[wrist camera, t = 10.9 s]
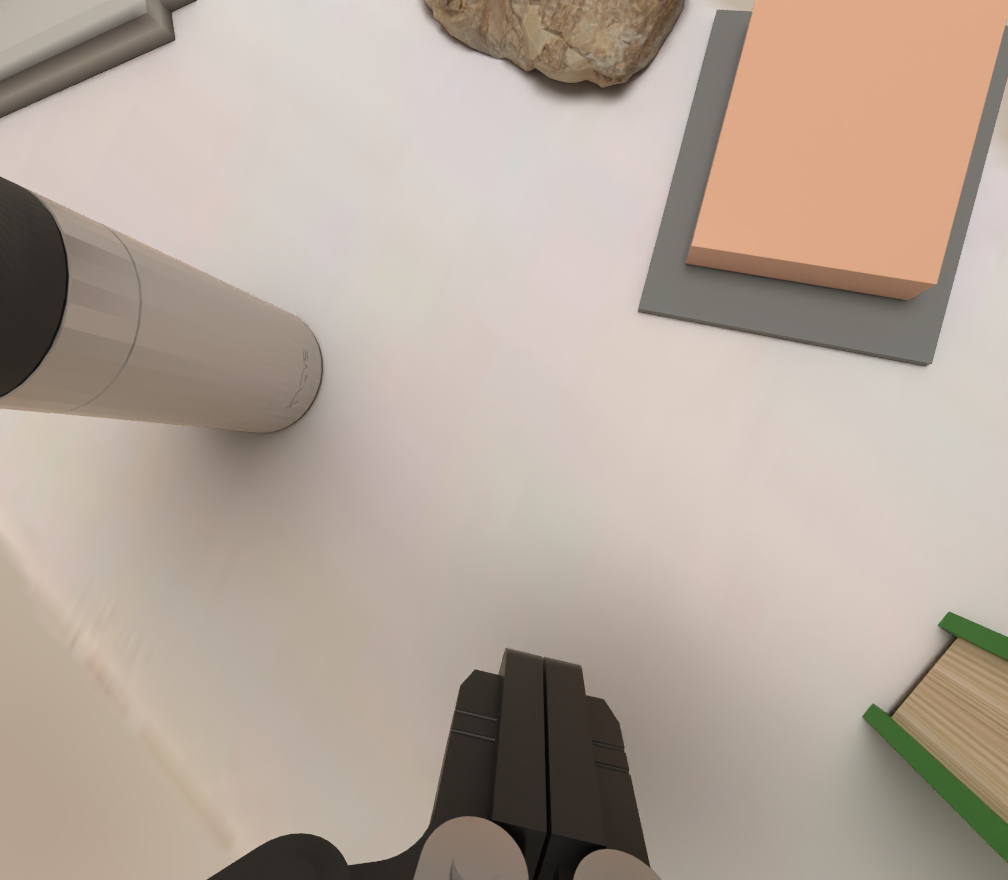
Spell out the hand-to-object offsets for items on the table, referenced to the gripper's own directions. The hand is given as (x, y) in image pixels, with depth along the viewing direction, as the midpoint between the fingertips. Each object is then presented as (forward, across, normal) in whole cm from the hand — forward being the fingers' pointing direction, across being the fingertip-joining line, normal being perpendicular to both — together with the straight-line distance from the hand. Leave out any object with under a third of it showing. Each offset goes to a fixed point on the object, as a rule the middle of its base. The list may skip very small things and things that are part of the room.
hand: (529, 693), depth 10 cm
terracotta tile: (+21, -12, -13) cm, 28 cm away
